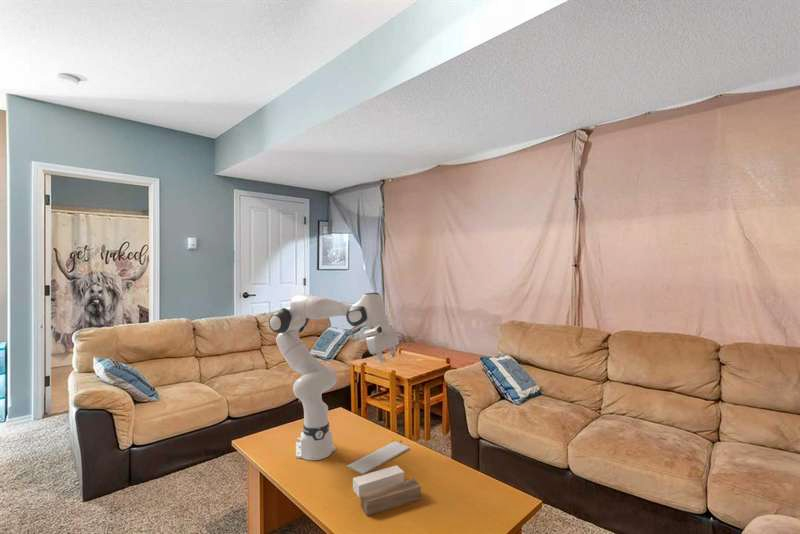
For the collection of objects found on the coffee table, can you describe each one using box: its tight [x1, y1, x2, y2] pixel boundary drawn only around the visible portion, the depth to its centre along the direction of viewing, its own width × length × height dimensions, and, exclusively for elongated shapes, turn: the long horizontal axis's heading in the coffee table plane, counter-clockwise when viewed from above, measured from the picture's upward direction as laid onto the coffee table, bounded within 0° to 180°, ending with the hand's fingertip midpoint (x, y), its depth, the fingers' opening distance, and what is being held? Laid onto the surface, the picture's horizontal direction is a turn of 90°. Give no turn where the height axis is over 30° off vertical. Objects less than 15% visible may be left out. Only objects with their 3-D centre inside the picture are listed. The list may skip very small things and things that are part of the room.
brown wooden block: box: [360, 478, 422, 517], centre depth 146 cm, size 6×22×5 cm, turn 116°
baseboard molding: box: [345, 438, 410, 476], centre depth 180 cm, size 31×3×12 cm
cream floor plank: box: [352, 464, 405, 499], centre depth 156 cm, size 6×20×5 cm, turn 120°
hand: (388, 359), depth 167 cm, fingers open, 8 cm apart
